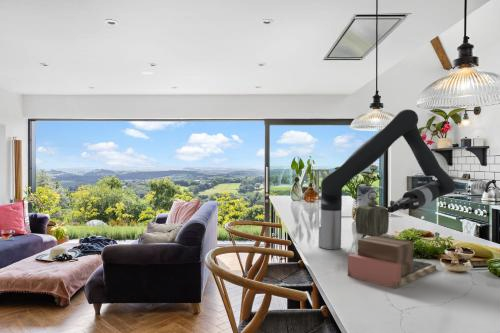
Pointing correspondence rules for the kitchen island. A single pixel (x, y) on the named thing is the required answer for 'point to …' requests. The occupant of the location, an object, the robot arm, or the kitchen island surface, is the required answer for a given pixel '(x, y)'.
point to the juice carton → (365, 194)
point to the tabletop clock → (372, 219)
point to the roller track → (385, 270)
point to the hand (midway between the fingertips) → (389, 210)
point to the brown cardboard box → (388, 251)
